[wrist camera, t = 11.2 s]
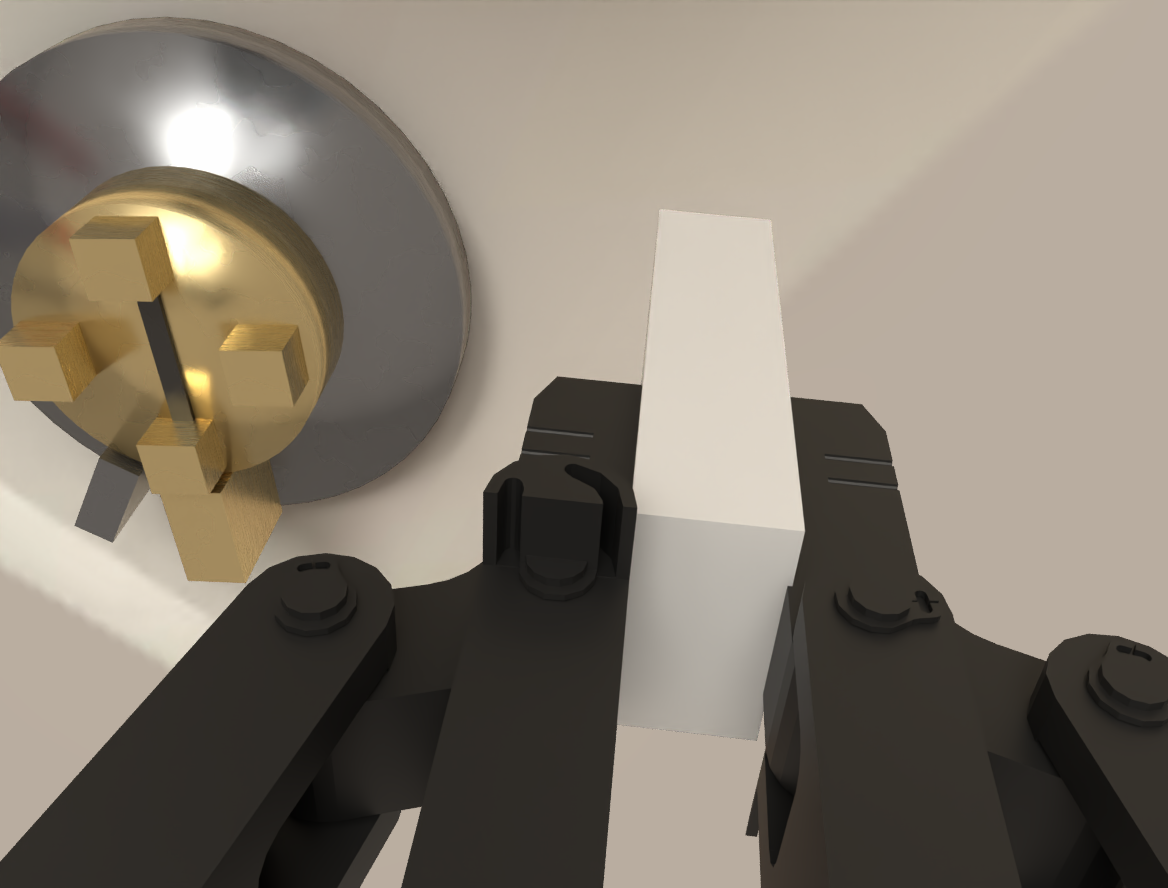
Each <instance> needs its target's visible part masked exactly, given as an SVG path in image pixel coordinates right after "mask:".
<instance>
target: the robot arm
mask: <svg viewBox="0 0 1168 888" xmlns="http://www.w3.org/2000/svg"><path fill="white" fill-rule="evenodd" d="M897 487H898V482H897V478H896V474H895V469H894V466H892V457H891V452H890V448H889V443H888V439H887V435H886V431H885V430H884V429H883V428H882V427H881V426H880V424H879V423H877V421H876V420H875V419H874V418H873V417H872V415H871V414H870V413H869V412H868V411H867V410H866V409H865V408H864V406H863V405H862V404H852V403H843V402H833V401H824V400H814V399H804V398H794V397H790V390H789V380H788V371H787V362H786V353H785V345H784V335H783V326H782V316H781V307H780V298H779V289H778V280H777V271H776V262H775V252H774V243H773V234H772V225H771V220H769V219H759V218H748V217H738V216H727V215H716V214H706V213H695V212H685V211H674V210H664V209H660V212H659V221H658V231H657V240H656V249H655V259H654V268H653V278H652V287H651V296H650V306H649V315H648V325H647V334H646V343H645V353H644V362H643V371H642V381H641V385H636V384H626V383H616V382H606V381H597V380H587V379H577V378H567V377H556V378H555V379H554V380H553V381H552V382H551V383H550V384H549V385H548V386H547V387H546V388H545V389H544V390H543V391H542V392H541V393H540V394H538V395H537V396H536V397H535V398H534V401H533V405H532V409H531V413H530V417H529V421H528V425H527V432H526V434H525V438H524V442H523V446H522V453H521V454H520V458H519V461H515V462H513V463H511V464H510V465H508V466H507V467H505V468H504V469H502V470H500V471H499V472H497V473H496V474H494V475H493V477H492V479H491V480H490V482H489V483H488V485H487V487H486V488H485V490H484V492H483V562H482V563H480V564H479V565H477V566H476V567H475V568H473V569H472V570H470V571H469V572H467V573H464V574H462V575H459V576H457V577H455V578H452V579H450V580H446V581H442V582H437V583H432V584H428V585H421V586H413V587H405V588H397V589H392V588H391V584H390V583H389V582H388V581H387V579H386V578H385V577H384V576H383V575H382V574H381V572H380V571H379V570H378V569H377V568H376V567H374V566H372V565H369V564H367V563H365V562H363V561H361V560H359V559H357V558H355V557H350V556H342V555H335V554H328V553H324V554H316V555H308V556H299V557H295V558H292V559H290V560H287V561H285V562H282V563H280V564H277V565H274V566H272V567H269V568H268V569H267V570H266V571H264V572H263V573H262V574H260V575H259V576H258V577H257V578H255V579H254V580H253V581H252V582H250V583H249V584H248V585H247V586H246V587H245V588H244V589H243V590H242V592H241V593H240V594H239V595H238V596H237V597H236V598H235V599H234V601H233V602H232V603H231V604H230V605H229V606H228V607H227V608H226V609H225V611H224V612H223V613H222V614H221V615H220V616H219V617H218V618H217V620H216V621H215V622H214V623H213V624H212V625H211V626H210V627H209V629H208V630H207V631H206V632H205V633H204V634H203V635H202V636H201V637H200V639H199V640H198V641H197V642H196V643H195V644H194V645H193V646H192V648H191V649H190V650H189V651H188V652H187V653H186V654H185V655H184V657H183V658H182V659H181V660H180V661H179V662H178V663H177V664H176V665H175V667H174V668H173V669H172V670H171V671H170V672H169V673H168V674H167V676H166V677H165V678H164V679H163V680H162V681H161V682H160V683H159V685H158V686H157V687H156V688H155V689H154V690H153V691H152V692H151V693H150V695H149V696H148V697H147V698H146V699H145V700H144V701H143V702H142V704H141V705H140V706H139V707H138V708H137V709H136V710H135V711H134V713H133V714H132V715H131V716H130V717H129V718H128V719H127V720H126V722H125V723H124V724H123V725H122V726H121V727H120V728H119V729H118V730H117V732H116V733H115V734H114V735H113V736H112V737H111V738H110V740H109V741H108V742H107V743H106V744H105V745H104V746H103V747H102V748H101V749H100V751H99V752H98V753H97V754H96V755H95V756H94V757H93V758H92V760H91V761H90V762H89V763H88V764H87V765H86V766H85V767H84V769H83V770H82V771H81V772H80V773H79V774H78V775H77V776H76V777H75V779H74V780H73V781H72V782H71V783H70V784H69V785H68V786H67V788H66V789H65V790H64V791H63V792H62V793H61V794H60V795H59V796H58V798H57V799H56V800H55V801H54V802H53V803H52V804H51V805H50V807H49V808H48V809H47V810H46V811H45V812H44V813H43V814H42V816H41V817H40V818H39V819H38V820H37V821H36V822H35V823H34V824H33V826H32V827H31V828H30V829H29V830H28V831H27V832H26V833H25V835H24V836H23V837H22V838H21V839H20V840H19V841H18V842H17V843H16V845H15V846H14V847H13V848H12V849H11V850H10V851H9V852H8V854H7V855H6V856H5V857H4V858H3V859H2V860H1V861H0V888H360V886H361V884H362V883H363V881H364V879H365V877H366V875H367V874H368V872H369V870H370V869H371V867H372V865H373V863H374V862H375V860H376V858H377V856H378V855H379V853H380V851H381V849H382V848H383V846H384V844H385V842H386V841H387V839H388V837H389V835H390V834H391V832H392V830H393V828H394V827H395V825H396V823H397V821H398V819H399V816H400V813H401V810H405V809H411V808H417V807H422V808H421V812H420V816H419V819H418V824H417V827H416V831H415V835H414V839H413V843H412V847H411V851H410V855H409V859H408V863H407V867H406V871H405V875H404V879H403V883H402V887H401V888H603V881H604V869H605V858H606V846H607V835H608V834H607V833H608V823H609V812H610V800H611V788H612V777H613V765H614V753H615V742H616V730H617V725H625V726H634V727H642V728H652V729H660V730H668V731H677V732H686V733H694V734H703V735H712V736H720V737H730V738H738V739H747V740H756V741H757V738H758V733H759V729H760V724H761V720H762V716H763V712H764V725H765V744H766V749H765V753H764V758H763V762H762V766H761V770H760V774H759V779H758V783H757V787H756V791H755V795H754V799H753V803H752V808H751V812H750V816H749V821H748V826H747V831H746V835H747V836H755V837H757V834H758V830H759V849H760V875H761V888H1168V657H1166V656H1165V655H1163V654H1161V653H1160V652H1158V651H1156V650H1154V649H1153V648H1151V647H1149V646H1146V645H1143V644H1140V643H1137V642H1134V641H1131V640H1128V639H1125V638H1122V637H1119V636H1110V635H1097V634H1086V635H1082V636H1078V637H1074V638H1070V639H1066V640H1064V641H1063V642H1062V643H1061V644H1059V645H1058V646H1057V647H1056V648H1055V649H1054V650H1053V651H1052V652H1051V653H1050V654H1049V656H1048V659H1047V661H1044V660H1041V659H1038V658H1035V657H1032V656H1029V655H1027V654H1023V653H1021V652H1018V651H1014V650H1012V649H1009V648H1006V647H1003V646H1000V645H997V644H995V643H993V642H990V641H988V640H986V639H983V638H981V637H979V636H976V635H974V634H972V633H970V632H969V631H967V630H965V629H964V628H962V627H961V626H959V625H958V624H956V623H955V622H954V618H953V614H952V612H951V610H950V609H949V607H948V605H947V603H946V601H945V599H944V597H943V595H942V594H941V593H940V592H939V591H938V590H937V589H936V588H935V587H933V586H932V585H931V584H930V583H929V582H928V581H927V580H926V579H924V578H923V577H922V576H920V575H919V574H918V569H917V565H916V561H915V556H914V553H913V548H912V543H911V539H910V534H909V530H908V526H907V521H906V518H905V513H904V508H903V505H902V500H901V495H900V491H899V490H897Z"/></svg>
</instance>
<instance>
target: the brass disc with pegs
mask: <svg viewBox="0 0 1168 888" xmlns="http://www.w3.org/2000/svg"><path fill="white" fill-rule="evenodd" d="M11 313H12V319H13V326H14V327H13V328H12V329H11V330H10V331H9V332H8V333H7V334H6V335H5V336H4V337H2V338H1V339H0V365H1V368H2V370H3V373H4V375H5V378H6V380H7V383H8V386H9V388H10V391H11V393H12V396H13V398H14V400H15V401H53V402H54V403H55V404H56V406H57V407H58V408H59V409H60V410H61V411H62V412H63V413H64V414H65V415H66V416H67V417H68V418H70V419H71V420H72V421H73V422H74V423H75V424H76V425H77V426H79V427H80V428H81V429H83V430H84V431H85V432H87V433H88V434H89V435H91V436H92V437H93V438H95V439H97V440H98V441H100V442H101V443H103V444H105V445H106V446H108V447H109V448H111V449H113V450H115V451H117V452H119V453H121V454H123V455H125V456H127V457H130V458H132V459H135V460H137V461H140V462H142V465H143V468H144V471H145V474H146V477H147V480H148V483H149V486H150V489H151V492H152V494H160V495H161V498H162V502H163V505H164V508H165V511H166V514H167V517H168V520H169V523H170V526H171V529H172V533H173V536H174V539H175V542H176V545H177V548H178V551H179V554H180V557H181V561H182V564H183V567H184V570H185V573H186V576H187V579H188V581H209V582H234V583H246V581H247V579H248V577H249V575H250V574H251V572H252V570H253V568H254V566H255V564H256V562H257V560H258V558H259V556H260V554H261V552H262V550H263V548H264V546H265V544H266V542H267V540H268V538H269V537H270V535H271V533H272V531H273V529H274V527H275V525H276V523H277V521H278V519H279V517H280V515H281V513H282V508H281V504H280V499H279V495H278V491H277V487H276V483H275V479H274V475H273V471H272V467H271V463H270V458H272V457H273V456H275V455H277V454H278V453H280V452H281V451H282V450H283V449H284V448H286V447H287V446H288V445H289V444H290V443H291V442H292V441H293V440H294V439H295V438H296V436H297V435H298V434H299V433H300V432H301V430H302V428H303V427H304V425H305V423H306V421H307V420H308V418H309V416H310V414H311V412H312V410H313V409H314V407H315V405H316V403H317V401H318V399H319V398H320V396H321V394H322V392H323V390H324V388H325V386H326V385H327V383H328V381H329V379H330V377H331V375H332V374H333V372H334V370H335V368H336V365H337V362H338V360H339V357H340V354H341V349H342V344H343V336H344V319H343V309H342V304H341V300H340V296H339V292H338V288H337V286H336V283H335V281H334V278H333V276H332V273H331V271H330V269H329V267H328V266H327V264H326V262H325V260H324V258H323V256H322V255H321V253H320V252H319V250H318V249H317V248H316V246H315V245H314V243H313V242H312V241H311V239H310V238H309V237H308V236H307V235H306V233H305V232H304V231H303V230H302V229H301V228H300V227H299V226H298V224H297V223H296V222H295V221H293V220H292V219H291V218H290V217H289V216H288V215H287V214H286V213H285V212H284V211H282V210H281V209H280V208H279V207H277V206H276V205H275V204H273V203H272V202H270V201H269V200H268V199H266V198H265V197H264V196H262V195H260V194H258V193H257V192H255V191H253V190H251V189H250V188H248V187H246V186H244V185H242V184H240V183H237V182H235V181H233V180H231V179H228V178H226V177H223V176H220V175H217V174H214V173H210V172H207V171H203V170H198V169H193V168H187V167H175V166H157V167H146V168H141V169H136V170H131V171H128V172H125V173H122V174H120V175H117V176H114V177H112V178H110V179H109V180H107V181H105V182H103V183H102V184H100V185H98V186H97V187H96V188H95V189H93V190H92V191H91V192H90V193H89V194H87V195H86V196H85V197H84V198H83V199H81V200H80V201H79V202H78V203H77V204H75V205H74V206H73V207H72V208H71V209H69V210H68V211H67V212H66V213H65V214H63V215H62V216H61V217H60V218H59V219H57V220H56V221H55V222H54V223H53V224H51V225H50V226H49V227H48V228H47V229H45V230H44V231H43V232H42V233H41V234H39V235H38V236H37V237H36V239H35V240H34V241H33V242H32V243H31V245H30V246H29V247H28V248H27V250H26V251H25V253H24V255H23V257H22V259H21V260H20V262H19V264H18V268H17V271H16V274H15V277H14V280H13V287H12V294H11Z"/></svg>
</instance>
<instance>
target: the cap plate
mask: <svg viewBox="0 0 1168 888" xmlns="http://www.w3.org/2000/svg"><path fill="white" fill-rule="evenodd" d="M157 166H175V167H187V168H193V169H198V170H203V171H207V172H210V173H214V174H217V175H220V176H223V177H226V178H228V179H231V180H233V181H235V182H237V183H240V184H242V185H244V186H246V187H248V188H250V189H251V190H253V191H255V192H257V193H258V194H260V195H262V196H264V197H265V198H266V199H268V200H269V201H270V202H272V203H273V204H275V205H276V206H277V207H279V208H280V209H281V210H282V211H284V212H285V213H286V214H287V215H288V216H289V217H290V218H291V219H292V220H293V221H295V222H296V223H297V224H298V226H299V227H300V228H301V229H302V230H303V231H304V232H305V233H306V235H307V236H308V237H309V238H310V239H311V241H312V242H313V243H314V245H315V246H316V248H317V249H318V250H319V252H320V253H321V255H322V256H323V258H324V260H325V262H326V264H327V266H328V267H329V269H330V271H331V273H332V276H333V278H334V281H335V283H336V286H337V288H338V292H339V296H340V300H341V304H342V309H343V319H344V336H343V344H342V349H341V354H340V357H339V360H338V362H337V365H336V368H335V370H334V372H333V374H332V375H331V377H330V379H329V381H328V383H327V385H326V386H325V388H324V390H323V392H322V394H321V396H320V398H319V399H318V401H317V403H316V405H315V407H314V409H313V410H312V412H311V414H310V416H309V418H308V420H307V421H306V423H305V425H304V427H303V428H302V430H301V432H300V433H299V434H298V435H297V436H296V438H295V439H294V440H293V441H292V442H291V443H290V444H289V445H288V446H287V447H286V448H284V449H283V450H282V451H281V452H280V453H278V454H277V455H275V456H273V457H272V458H270V463H271V467H272V471H273V475H274V479H275V483H276V487H277V491H278V495H279V499H280V504H281V505H288V504H297V503H306V502H312V501H316V500H320V499H325V498H329V497H333V496H337V495H340V494H342V493H345V492H348V491H350V490H353V489H355V488H358V487H361V486H363V485H365V484H366V483H368V482H370V481H372V480H374V479H376V478H377V477H379V476H381V475H383V474H385V473H386V472H387V471H389V470H390V469H391V468H393V467H394V466H395V465H397V464H398V463H399V462H401V461H402V460H403V459H405V458H406V457H407V456H408V455H409V454H410V453H411V452H412V451H413V450H414V449H415V448H416V446H417V445H418V444H419V443H420V442H421V441H422V440H423V439H424V438H425V436H426V435H427V433H428V432H429V431H430V429H431V428H432V426H433V425H434V424H435V422H436V421H437V419H438V418H439V416H440V414H441V412H442V410H443V407H444V405H445V403H446V401H447V399H448V397H449V395H450V393H451V390H452V387H453V384H454V382H455V379H456V376H457V373H458V371H459V368H460V364H461V361H462V358H463V355H464V351H465V348H466V345H467V340H468V333H469V326H470V319H471V284H470V277H469V270H468V264H467V257H466V253H465V249H464V246H463V242H462V239H461V236H460V232H459V229H458V225H457V223H456V220H455V218H454V216H453V213H452V211H451V209H450V207H449V204H448V202H447V200H446V197H445V195H444V193H443V191H442V189H441V188H440V186H439V184H438V183H437V181H436V179H435V178H434V176H433V174H432V172H431V171H430V169H429V167H428V166H427V164H426V162H425V161H424V160H423V158H422V157H421V156H420V154H419V153H418V152H417V150H416V149H415V148H414V147H413V145H412V144H411V143H410V141H409V140H408V139H407V137H406V136H405V135H404V133H403V132H402V131H401V130H400V129H399V128H398V127H397V126H396V125H395V124H394V123H393V122H392V121H391V120H390V119H389V118H388V117H387V116H386V115H385V114H384V113H383V112H382V110H381V109H380V108H379V107H378V106H377V105H376V104H374V103H373V102H372V101H371V100H370V99H368V98H367V97H366V96H365V95H364V94H362V93H361V92H360V91H359V90H357V89H356V88H355V87H354V86H353V85H351V84H350V83H349V82H348V81H346V80H345V79H344V78H342V77H341V76H339V75H337V74H336V73H334V72H333V71H331V70H330V69H328V68H327V67H325V66H324V65H322V64H320V63H319V62H317V61H316V60H314V59H313V58H311V57H309V56H307V55H305V54H303V53H301V52H299V51H297V50H294V49H292V48H290V47H288V46H286V45H284V44H282V43H280V42H278V41H276V40H273V39H270V38H267V37H264V36H262V35H259V34H256V33H253V32H250V31H247V30H245V29H242V28H238V27H233V26H229V25H224V24H220V23H215V22H210V21H206V20H197V19H185V18H173V17H158V18H141V19H129V20H125V21H120V22H115V23H111V24H106V25H101V26H97V27H95V28H92V29H89V30H87V31H84V32H82V33H79V34H77V35H74V36H72V37H69V38H67V39H65V40H63V41H61V42H60V43H58V44H56V45H54V46H53V47H51V48H49V49H47V50H46V51H44V52H42V53H40V54H38V55H37V56H35V57H34V58H32V59H30V60H29V61H27V62H25V63H24V64H22V65H20V66H19V67H17V68H15V69H14V70H12V71H11V72H10V73H9V74H8V75H6V76H5V77H4V78H3V79H2V80H1V81H0V339H1V338H2V337H4V336H5V335H6V334H7V333H8V332H9V331H10V330H11V329H12V328H13V327H14V326H13V319H12V313H11V294H12V287H13V280H14V277H15V274H16V271H17V268H18V264H19V262H20V260H21V259H22V257H23V255H24V253H25V251H26V250H27V248H28V247H29V246H30V245H31V243H32V242H33V241H34V240H35V239H36V237H37V236H38V235H39V234H41V233H42V232H43V231H44V230H45V229H47V228H48V227H49V226H50V225H51V224H53V223H54V222H55V221H56V220H57V219H59V218H60V217H61V216H62V215H63V214H65V213H66V212H67V211H68V210H69V209H71V208H72V207H73V206H74V205H75V204H77V203H78V202H79V201H80V200H81V199H83V198H84V197H85V196H86V195H87V194H89V193H90V192H91V191H92V190H93V189H95V188H96V187H97V186H98V185H100V184H102V183H103V182H105V181H107V180H109V179H110V178H112V177H114V176H117V175H120V174H122V173H125V172H128V171H131V170H136V169H141V168H146V167H157ZM0 366H1V365H0ZM31 402H32V403H33V404H34V405H35V406H36V407H37V408H38V409H39V410H41V411H42V412H43V413H44V414H45V415H46V416H47V417H48V418H49V419H50V420H51V421H52V422H53V423H55V424H56V425H57V426H59V427H60V428H61V429H62V430H64V431H65V432H66V433H68V434H69V435H70V436H71V437H73V438H74V439H75V440H77V441H78V442H79V443H81V444H82V445H84V446H85V447H87V448H89V449H90V450H92V451H93V452H95V453H96V454H98V455H99V456H100V458H99V460H98V463H97V466H96V468H95V471H94V474H93V476H92V479H91V482H90V485H89V487H88V490H87V493H86V496H85V498H84V501H83V504H82V506H81V509H80V512H79V515H78V517H77V520H76V523H75V526H76V527H79V528H81V529H83V530H85V531H88V532H90V533H92V534H94V535H97V536H99V537H101V538H103V539H106V540H108V541H110V542H112V543H113V541H114V540H115V538H116V537H117V536H118V534H119V533H120V531H121V530H122V528H123V527H124V525H125V524H126V523H127V521H128V520H129V518H130V517H131V515H132V514H133V512H134V511H135V509H136V508H137V507H138V505H139V504H140V502H141V501H142V499H143V498H144V496H145V495H146V494H147V492H148V491H149V489H150V486H149V483H148V480H147V477H146V474H145V471H144V468H143V465H142V462H140V461H137V460H135V459H132V458H130V457H127V456H125V455H123V454H121V453H119V452H117V451H115V450H113V449H111V448H109V447H108V446H106V445H105V444H103V443H101V442H100V441H98V440H97V439H95V438H93V437H92V436H91V435H89V434H88V433H87V432H85V431H84V430H83V429H81V428H80V427H79V426H77V425H76V424H75V423H74V422H73V421H72V420H71V419H70V418H68V417H67V416H66V415H65V414H64V413H63V412H62V411H61V410H60V409H59V408H58V407H57V406H56V404H55V403H54V402H53V401H31Z"/></svg>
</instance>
